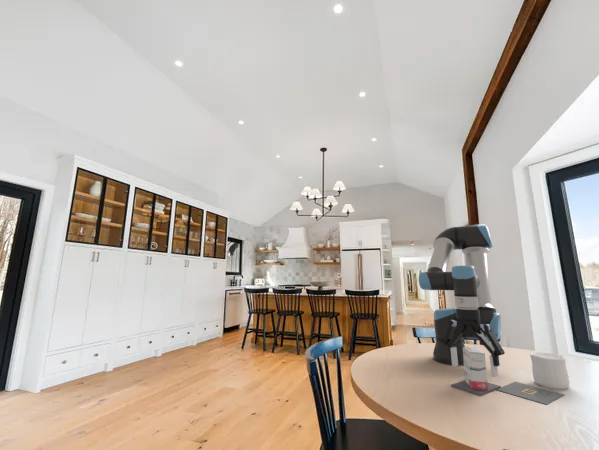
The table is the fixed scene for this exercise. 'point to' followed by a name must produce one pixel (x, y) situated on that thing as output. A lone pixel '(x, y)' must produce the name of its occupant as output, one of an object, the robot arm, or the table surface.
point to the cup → (550, 370)
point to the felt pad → (464, 386)
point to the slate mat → (530, 392)
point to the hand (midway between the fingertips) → (474, 371)
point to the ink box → (475, 368)
